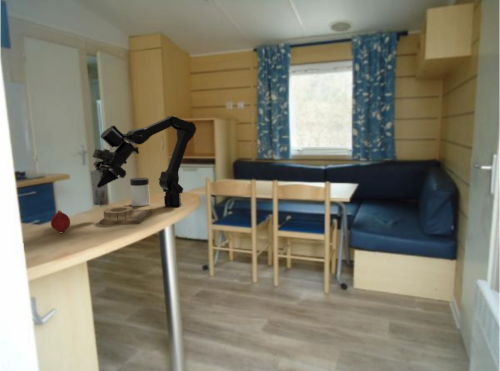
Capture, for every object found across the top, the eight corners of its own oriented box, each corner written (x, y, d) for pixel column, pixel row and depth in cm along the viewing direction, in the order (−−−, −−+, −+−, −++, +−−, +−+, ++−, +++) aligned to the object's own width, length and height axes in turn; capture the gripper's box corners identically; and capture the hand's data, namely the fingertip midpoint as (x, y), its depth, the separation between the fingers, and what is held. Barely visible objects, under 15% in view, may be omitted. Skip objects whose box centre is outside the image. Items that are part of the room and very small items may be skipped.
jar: (135, 207, 159) (134, 180, 157) (127, 204, 165) (126, 178, 163) (154, 204, 165) (152, 178, 163) (145, 201, 171) (144, 176, 169)
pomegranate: (75, 231, 123) (72, 208, 122) (61, 236, 118) (59, 212, 117) (62, 229, 125) (59, 207, 124) (48, 234, 120) (45, 211, 118)
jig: (151, 212, 150) (151, 202, 149) (139, 223, 132) (138, 212, 131) (117, 212, 149) (116, 202, 149) (100, 224, 132) (99, 213, 131)
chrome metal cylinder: (109, 202, 140) (106, 169, 138) (104, 204, 136) (101, 171, 133) (96, 202, 140) (93, 169, 138) (91, 205, 135) (88, 171, 133)
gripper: (96, 140, 143) (69, 170, 138) (115, 142, 130) (87, 175, 124) (116, 158, 150) (92, 188, 144) (137, 161, 136) (111, 194, 131)
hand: (95, 186), depth 136 cm, fingers closed on chrome metal cylinder, 5 cm apart
